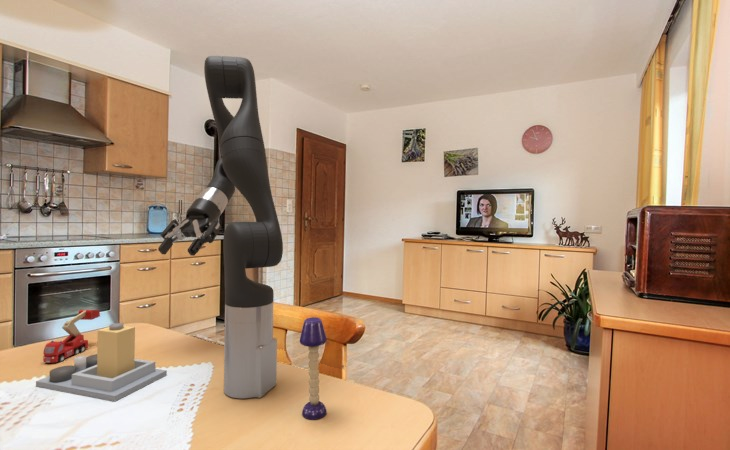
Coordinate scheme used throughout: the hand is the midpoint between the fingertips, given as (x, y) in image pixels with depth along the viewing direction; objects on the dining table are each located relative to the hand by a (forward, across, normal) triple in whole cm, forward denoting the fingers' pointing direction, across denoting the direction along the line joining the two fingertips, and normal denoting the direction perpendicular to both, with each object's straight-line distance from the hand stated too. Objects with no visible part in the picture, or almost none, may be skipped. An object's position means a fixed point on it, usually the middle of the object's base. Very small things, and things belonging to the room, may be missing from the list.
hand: (175, 252), depth 89 cm
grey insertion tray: (+28, -4, +7) cm, 30 cm away
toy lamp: (+28, +42, +8) cm, 51 cm away
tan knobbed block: (+28, -1, +7) cm, 28 cm away
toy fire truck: (+22, -25, +14) cm, 36 cm away
